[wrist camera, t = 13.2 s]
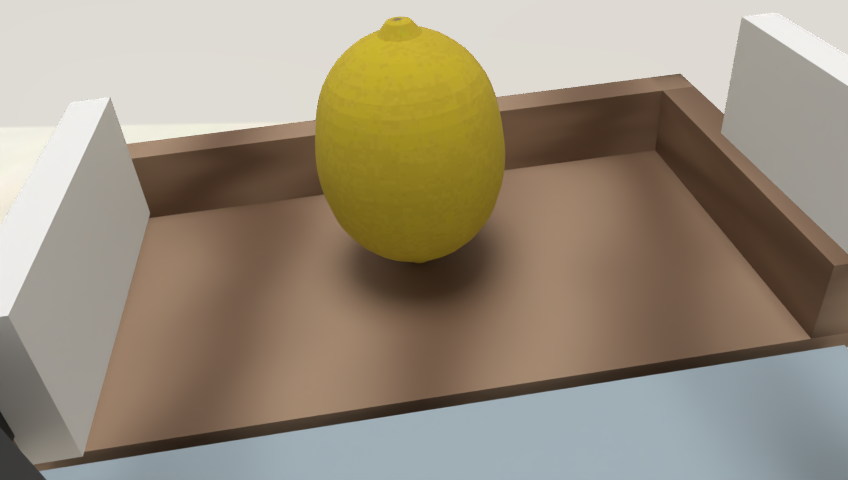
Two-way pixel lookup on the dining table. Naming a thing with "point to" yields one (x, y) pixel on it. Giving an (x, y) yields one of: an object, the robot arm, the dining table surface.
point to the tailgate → (562, 434)
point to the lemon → (409, 143)
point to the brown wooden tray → (457, 276)
